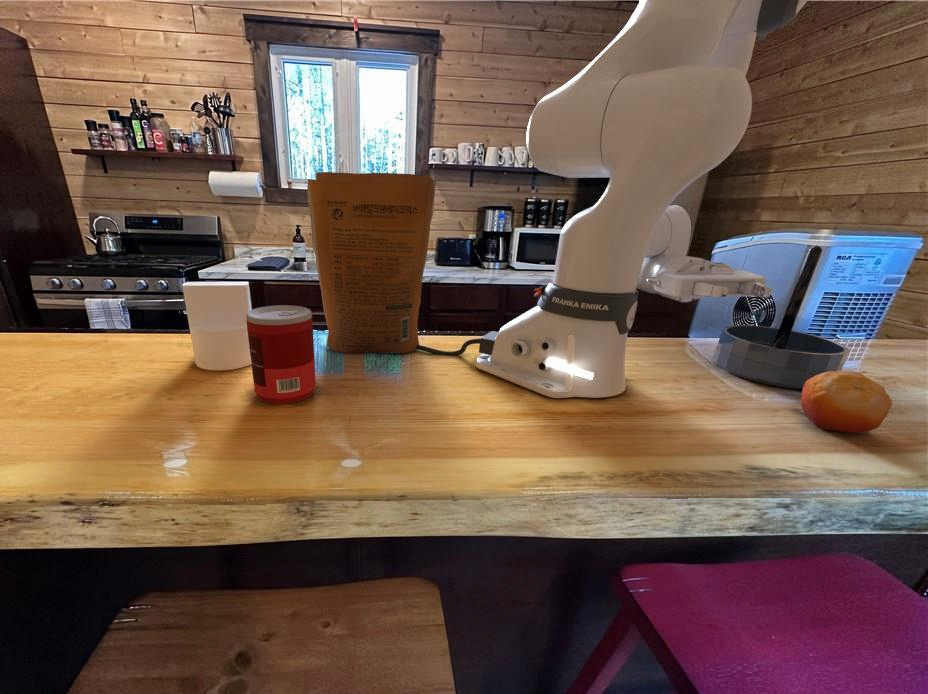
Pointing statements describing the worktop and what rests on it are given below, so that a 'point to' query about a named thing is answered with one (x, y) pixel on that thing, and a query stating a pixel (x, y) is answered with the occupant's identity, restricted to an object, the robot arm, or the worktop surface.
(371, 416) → the worktop surface
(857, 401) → the fruit
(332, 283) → the pancake mix bag
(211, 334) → the base with upright slab
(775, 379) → the bowl
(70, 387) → the worktop surface
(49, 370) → the worktop surface
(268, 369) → the canned food
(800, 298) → the long black rod
